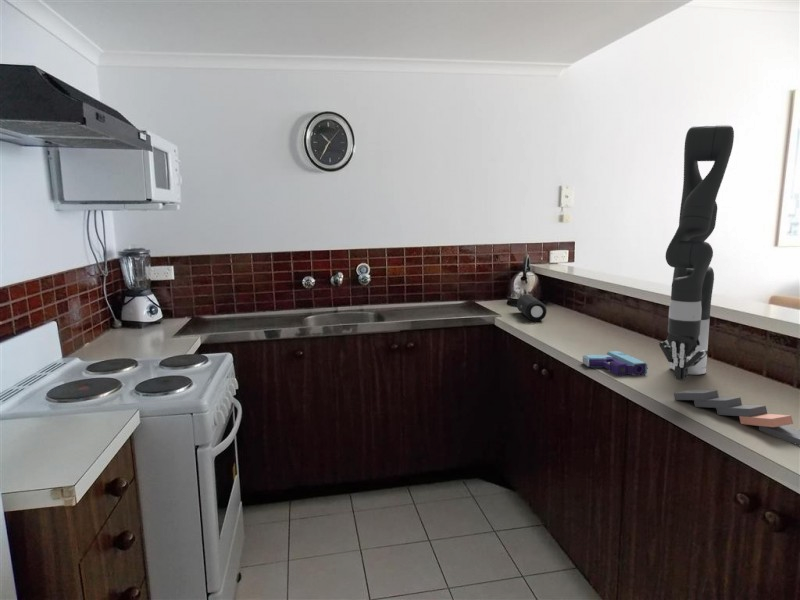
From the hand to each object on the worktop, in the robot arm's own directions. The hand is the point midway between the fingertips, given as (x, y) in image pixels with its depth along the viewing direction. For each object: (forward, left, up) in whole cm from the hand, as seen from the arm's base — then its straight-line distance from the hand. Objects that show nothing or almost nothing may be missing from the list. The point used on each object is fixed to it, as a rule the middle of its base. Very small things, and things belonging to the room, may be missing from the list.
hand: (680, 379), depth 138 cm
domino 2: (+6, 0, -4) cm, 8 cm away
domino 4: (+19, -1, -4) cm, 19 cm away
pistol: (-27, +5, -6) cm, 29 cm away
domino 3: (+13, 0, -4) cm, 13 cm away
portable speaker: (-108, +39, -5) cm, 115 cm away
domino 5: (+23, -1, -4) cm, 23 cm away
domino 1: (+1, 0, -4) cm, 4 cm away
